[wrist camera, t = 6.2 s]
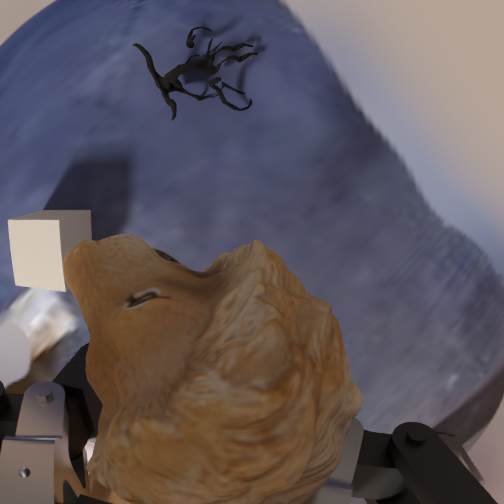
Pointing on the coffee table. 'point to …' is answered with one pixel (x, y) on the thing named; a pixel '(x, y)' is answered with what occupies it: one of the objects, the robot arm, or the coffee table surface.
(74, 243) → the beige block
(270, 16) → the coffee table surface
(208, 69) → the creature
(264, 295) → the lion figurine
